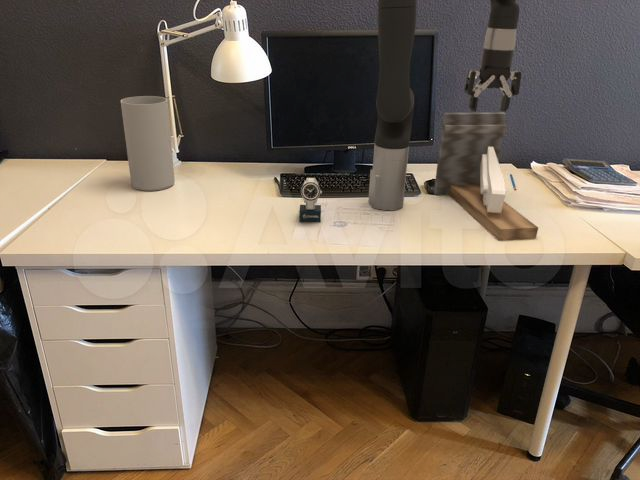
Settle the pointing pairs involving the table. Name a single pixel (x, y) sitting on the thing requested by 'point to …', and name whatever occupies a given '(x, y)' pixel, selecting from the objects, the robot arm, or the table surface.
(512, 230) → the cleat wall board
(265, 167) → the table surface
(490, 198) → the shelf bracket
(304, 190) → the watch
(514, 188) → the pencil
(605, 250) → the table surface
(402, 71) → the robot arm
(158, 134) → the cylinder vase
